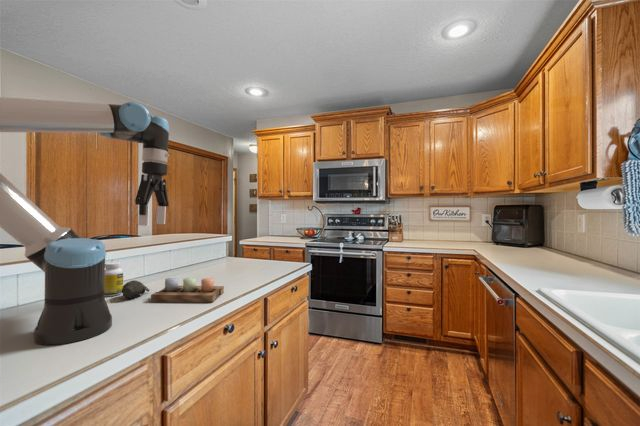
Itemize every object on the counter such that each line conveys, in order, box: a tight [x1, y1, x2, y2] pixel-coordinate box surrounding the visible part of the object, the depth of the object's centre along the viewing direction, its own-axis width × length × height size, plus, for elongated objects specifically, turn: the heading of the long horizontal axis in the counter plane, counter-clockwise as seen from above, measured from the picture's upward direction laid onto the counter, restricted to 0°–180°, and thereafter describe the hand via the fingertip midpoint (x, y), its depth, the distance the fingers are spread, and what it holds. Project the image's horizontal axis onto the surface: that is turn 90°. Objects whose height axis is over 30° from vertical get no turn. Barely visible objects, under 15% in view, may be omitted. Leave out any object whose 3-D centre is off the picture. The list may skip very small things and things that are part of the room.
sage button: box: [182, 277, 197, 292], centre depth 103 cm, size 4×4×4 cm
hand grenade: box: [121, 280, 151, 299], centre depth 103 cm, size 6×7×12 cm
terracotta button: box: [200, 277, 215, 292], centre depth 103 cm, size 4×4×4 cm
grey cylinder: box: [164, 277, 179, 292], centre depth 103 cm, size 4×4×4 cm
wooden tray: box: [150, 285, 225, 304], centre depth 103 cm, size 21×12×2 cm, turn 92°
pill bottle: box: [104, 261, 124, 298], centre depth 104 cm, size 6×6×12 cm
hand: (152, 224), depth 97 cm, fingers open, 13 cm apart
